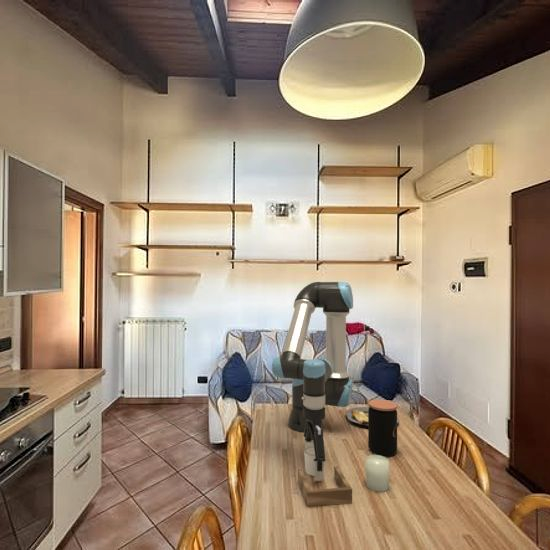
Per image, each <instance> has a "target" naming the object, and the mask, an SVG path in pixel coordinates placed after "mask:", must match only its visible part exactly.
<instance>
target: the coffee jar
mask: <svg viewBox="0 0 550 550" xmlns="http://www.w3.org/2000/svg"><path fill="white" fill-rule="evenodd" d="M368 407H369V410H368V413H367V417H368V426H367V427H368V428H367V429H368V431H367V432H368V433H367V435H368V437H367V441H368V449H369V451H370V452H371V453H372V454H373V455H380V456H383V457H385V458H388V457H393V456H395V455H396V453H397V452H398V424H397V418H398V404H397V403H396V402H394V401H392V400H387V399H372V400H369V401H368Z"/></svg>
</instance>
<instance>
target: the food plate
mask: <svg viewBox="0 0 550 550" xmlns="http://www.w3.org/2000/svg"><path fill="white" fill-rule="evenodd" d="M369 407H370V406H363V407H362V406H358V407H352V408H349V409H347V410H346V411H345V412H344V413H345V415H346V417H347V419H348V420H349V422H351V423H354V424H357V425H361V426H365V427H368V415H366V414H368V410H369ZM399 422H400V419H399V417H397V425H398V424H399Z"/></svg>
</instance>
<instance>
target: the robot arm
mask: <svg viewBox="0 0 550 550" xmlns="http://www.w3.org/2000/svg"><path fill="white" fill-rule="evenodd" d="M353 296H354V295H353V290H352V287H351V284H350V283H348V282H345V281H314V282H311V283H308V284H307V285H306V286H304V287H303V288H302V289H301V290H300V291H299V293H298V294H297V295H296V297H295V300H294V302H293V308H294V311H293V314H292V318H291V321H290V326H289V328H288V332H287V334H286V338H285V342H284V346H283V349H282V352H281V356H278V357H277V356H276V357H274V359H273V361H272V365H271V372H272V375H273V376H274V377H277V378H281V379H290V380H291V379H292V385H291V390H292V391H291V392H292V393H291V396H292V397H291V399H292V400H291V402H292V404H291V405H292V407H291V410H290V413H289V416H288V420H287V424H288V427H289V428H290V429H291V430H294V431H296V432H303V437H304V441H305V442H304V443H305V444H304V445H305V447H304V448H307V447H314V451H315V459H314V461H315V476H314V481H315V482H317V481H324V462H326V461H327V460H326V452H325V444H324V442H325V441H324V428H323V420H325V418H326V407H325V406H332V407H337V408H339V407H341V408H347V407H348V406H349V404H350V403H351V399H352V395H353V388H354V382H353V380H352V379H350V375H349V373H348V372H347V371H346V363H347V361H346V360H347V359H346V358H347V357H346V355H347V353H346V352H347V351H346V350H347V349H346V348H347V341H346V340H347V336H346V335H347V332H346V331H347V316H348V315H349V314H350V310H352V309H353V308H354V297H353ZM317 308H319V309H322V313H323V314H324V315H325V319H326V322H325V324H326V326H325V327H326V329H325V332H326V333H325V358H319V359H316V358H315V359H304V358H303V359H302V353H303V350H304V345H305V341H306V337H307V333H308V330H309V326H310V320H311V318H312V315H313V313H314V312H315V310H316V309H317Z"/></svg>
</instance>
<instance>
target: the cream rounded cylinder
mask: <svg viewBox="0 0 550 550" xmlns="http://www.w3.org/2000/svg"><path fill="white" fill-rule="evenodd" d="M365 465H366V466H365V468H366V469H365V471H366V472H365V474H366V475H365V476H366V477H365V481H366V482H365V484H366V487H367V488H368V489H370V490H372V491H373V492H379V493H381V492H382V493H383V492H387V491H388V490H389V489H390V461H389V459H388V457H383V456H380V455H376V454H370V455H368V456H366V459H365Z"/></svg>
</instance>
